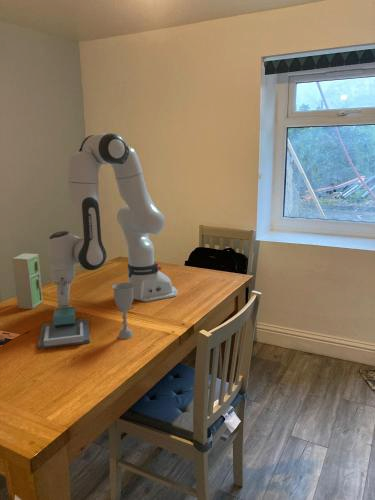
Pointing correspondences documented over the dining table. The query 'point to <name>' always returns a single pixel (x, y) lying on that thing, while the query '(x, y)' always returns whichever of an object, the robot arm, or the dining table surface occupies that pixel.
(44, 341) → the loading dock
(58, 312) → the teal handled box
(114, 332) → the dining table surface
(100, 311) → the dining table surface
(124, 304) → the chalice
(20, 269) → the toy refrigerator
